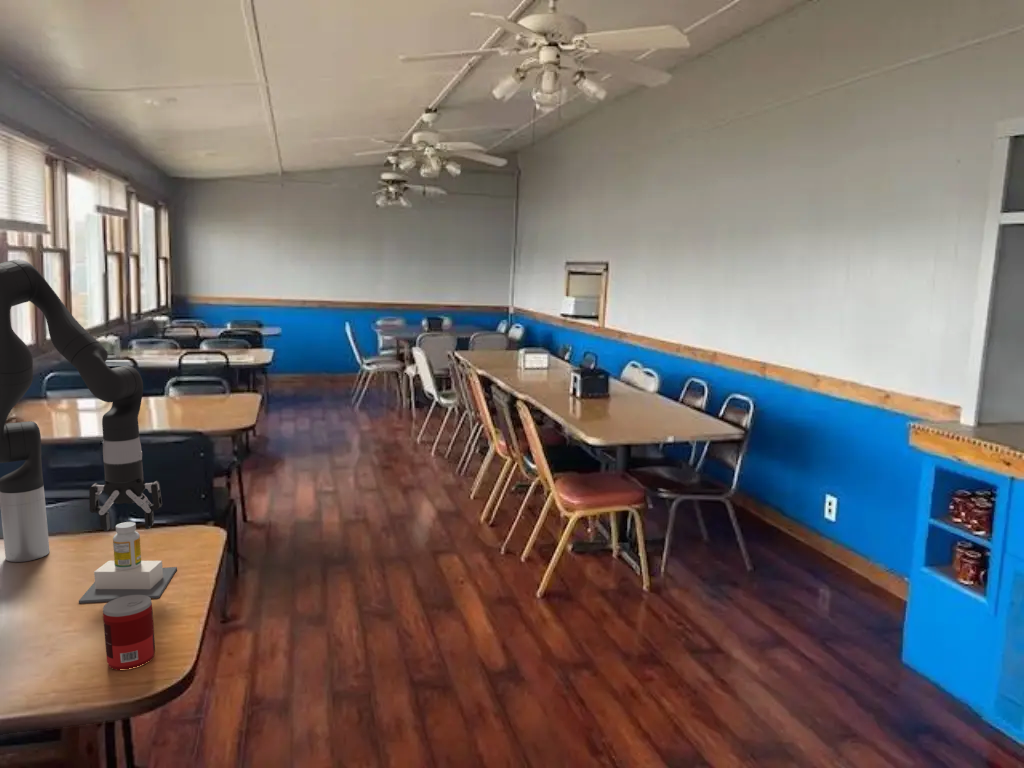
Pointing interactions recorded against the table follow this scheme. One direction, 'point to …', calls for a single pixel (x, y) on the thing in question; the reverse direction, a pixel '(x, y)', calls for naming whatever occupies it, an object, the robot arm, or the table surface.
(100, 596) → the mat
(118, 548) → the supplement bottle
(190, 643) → the table surface
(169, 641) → the table surface
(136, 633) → the canned food
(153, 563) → the riser block
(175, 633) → the table surface
